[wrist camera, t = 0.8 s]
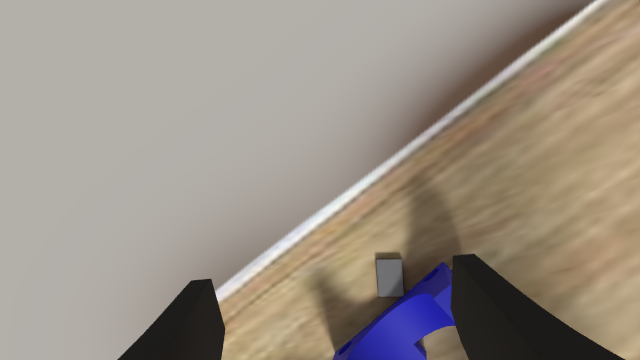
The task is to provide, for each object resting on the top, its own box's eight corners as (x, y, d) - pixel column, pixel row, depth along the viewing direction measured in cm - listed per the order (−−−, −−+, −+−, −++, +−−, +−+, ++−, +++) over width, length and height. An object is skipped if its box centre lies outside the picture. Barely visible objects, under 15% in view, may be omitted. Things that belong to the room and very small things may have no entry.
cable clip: (371, 393, 34) (364, 442, 28) (335, 352, 34) (320, 392, 28) (483, 304, 32) (500, 337, 26) (442, 261, 32) (450, 284, 26)
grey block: (403, 294, 33) (403, 296, 32) (378, 294, 33) (378, 296, 33) (401, 258, 32) (401, 259, 32) (376, 258, 33) (376, 259, 33)
